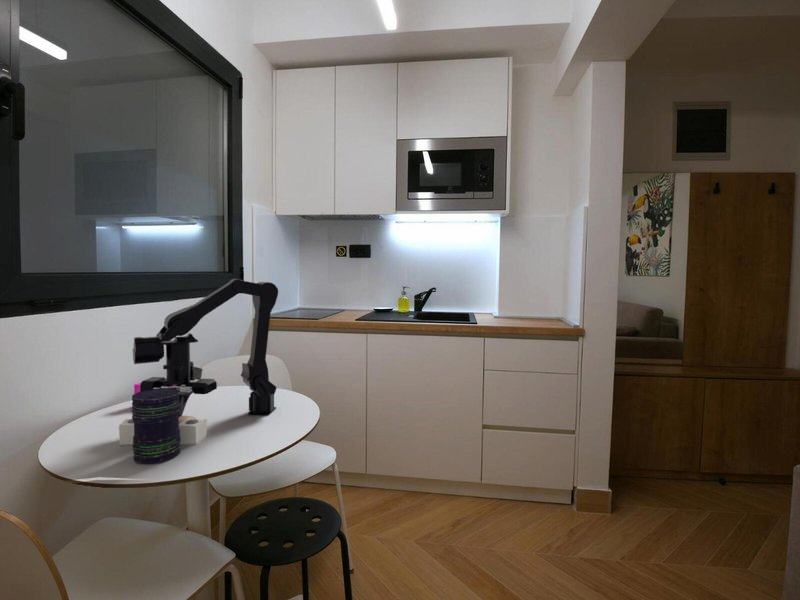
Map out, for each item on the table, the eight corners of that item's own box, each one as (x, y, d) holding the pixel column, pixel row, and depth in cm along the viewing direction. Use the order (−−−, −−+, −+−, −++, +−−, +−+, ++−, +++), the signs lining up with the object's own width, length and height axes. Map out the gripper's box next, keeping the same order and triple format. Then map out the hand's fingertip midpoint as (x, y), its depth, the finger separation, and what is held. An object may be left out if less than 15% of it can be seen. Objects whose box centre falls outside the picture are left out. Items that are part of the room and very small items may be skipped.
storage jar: (147, 447, 105) (145, 387, 104) (188, 446, 106) (186, 387, 105) (123, 465, 95) (121, 400, 94) (169, 464, 96) (167, 399, 95)
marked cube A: (206, 438, 112) (206, 418, 111) (196, 445, 107) (195, 425, 106) (188, 437, 112) (188, 417, 112) (177, 444, 107) (176, 424, 107)
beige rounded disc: (198, 425, 121) (198, 415, 121) (194, 435, 113) (194, 424, 113) (166, 426, 118) (166, 416, 118) (160, 437, 111) (160, 426, 111)
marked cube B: (148, 435, 113) (147, 416, 112) (142, 443, 108) (141, 423, 107) (126, 437, 111) (126, 417, 111) (119, 445, 106) (119, 424, 106)
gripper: (226, 354, 122) (226, 408, 123) (163, 353, 123) (165, 405, 124) (205, 363, 111) (206, 421, 112) (137, 361, 112) (139, 419, 113)
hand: (179, 416), depth 116 cm, fingers closed
